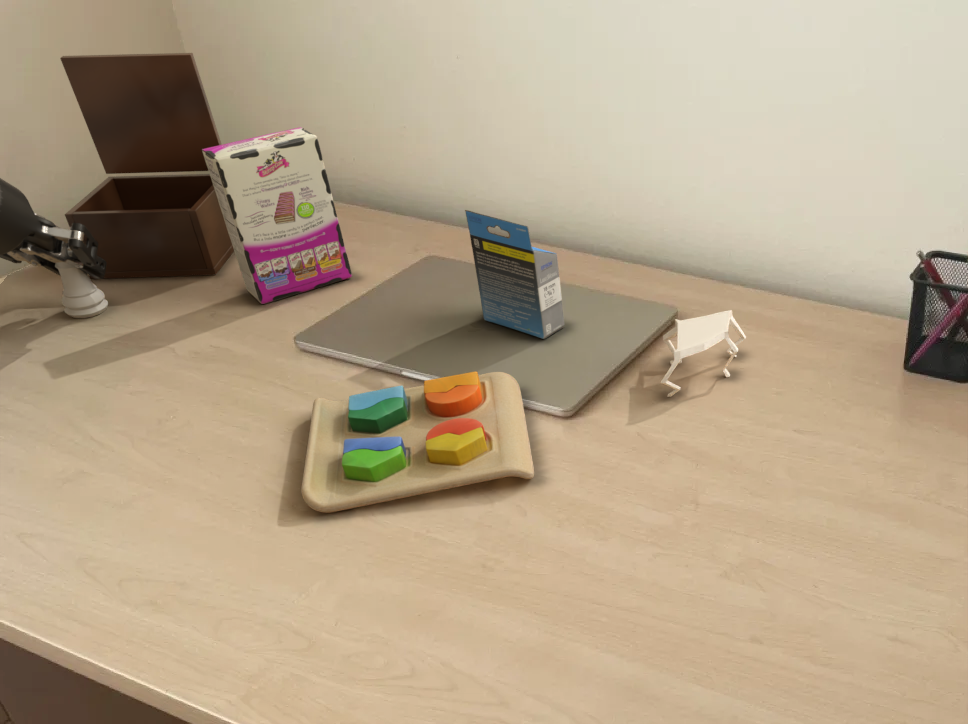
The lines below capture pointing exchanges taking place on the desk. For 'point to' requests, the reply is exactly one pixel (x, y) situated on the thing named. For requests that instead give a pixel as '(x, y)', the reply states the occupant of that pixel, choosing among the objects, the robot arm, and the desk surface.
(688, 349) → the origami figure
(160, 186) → the compartment
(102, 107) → the compartment lid
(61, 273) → the rook chess piece
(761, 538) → the desk surface
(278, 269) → the candy bar box
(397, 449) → the puzzle board
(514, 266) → the tape cartridge
